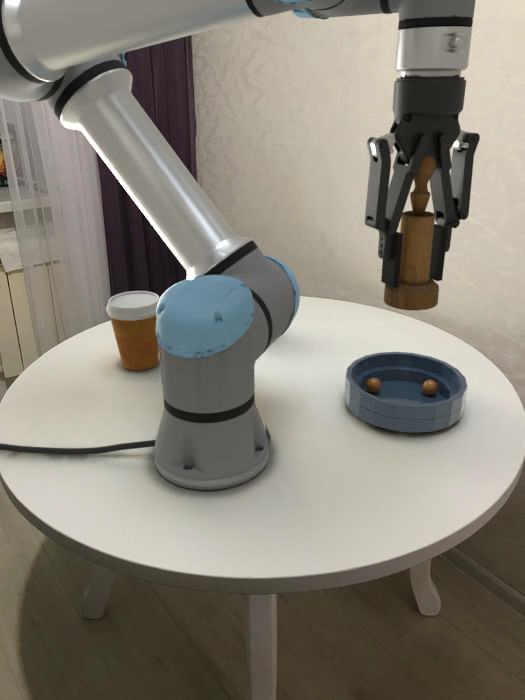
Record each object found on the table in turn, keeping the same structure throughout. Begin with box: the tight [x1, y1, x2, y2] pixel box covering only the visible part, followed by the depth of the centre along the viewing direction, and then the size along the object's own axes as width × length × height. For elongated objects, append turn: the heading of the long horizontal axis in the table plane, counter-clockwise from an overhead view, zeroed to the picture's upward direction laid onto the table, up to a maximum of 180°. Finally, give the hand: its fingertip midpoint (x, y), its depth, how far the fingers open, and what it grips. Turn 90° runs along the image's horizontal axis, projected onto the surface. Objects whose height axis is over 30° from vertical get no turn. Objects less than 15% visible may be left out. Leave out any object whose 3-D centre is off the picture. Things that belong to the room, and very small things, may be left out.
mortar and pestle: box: [383, 156, 440, 311], centre depth 70 cm, size 7×6×18 cm
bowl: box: [344, 351, 468, 434], centre depth 90 cm, size 18×18×5 cm
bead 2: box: [422, 380, 438, 395], centre depth 92 cm, size 2×2×2 cm
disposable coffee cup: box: [105, 290, 160, 371], centre depth 102 cm, size 10×10×12 cm
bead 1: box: [366, 378, 381, 393], centre depth 92 cm, size 2×2×2 cm
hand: (411, 280), depth 73 cm, fingers closed on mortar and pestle, 6 cm apart
